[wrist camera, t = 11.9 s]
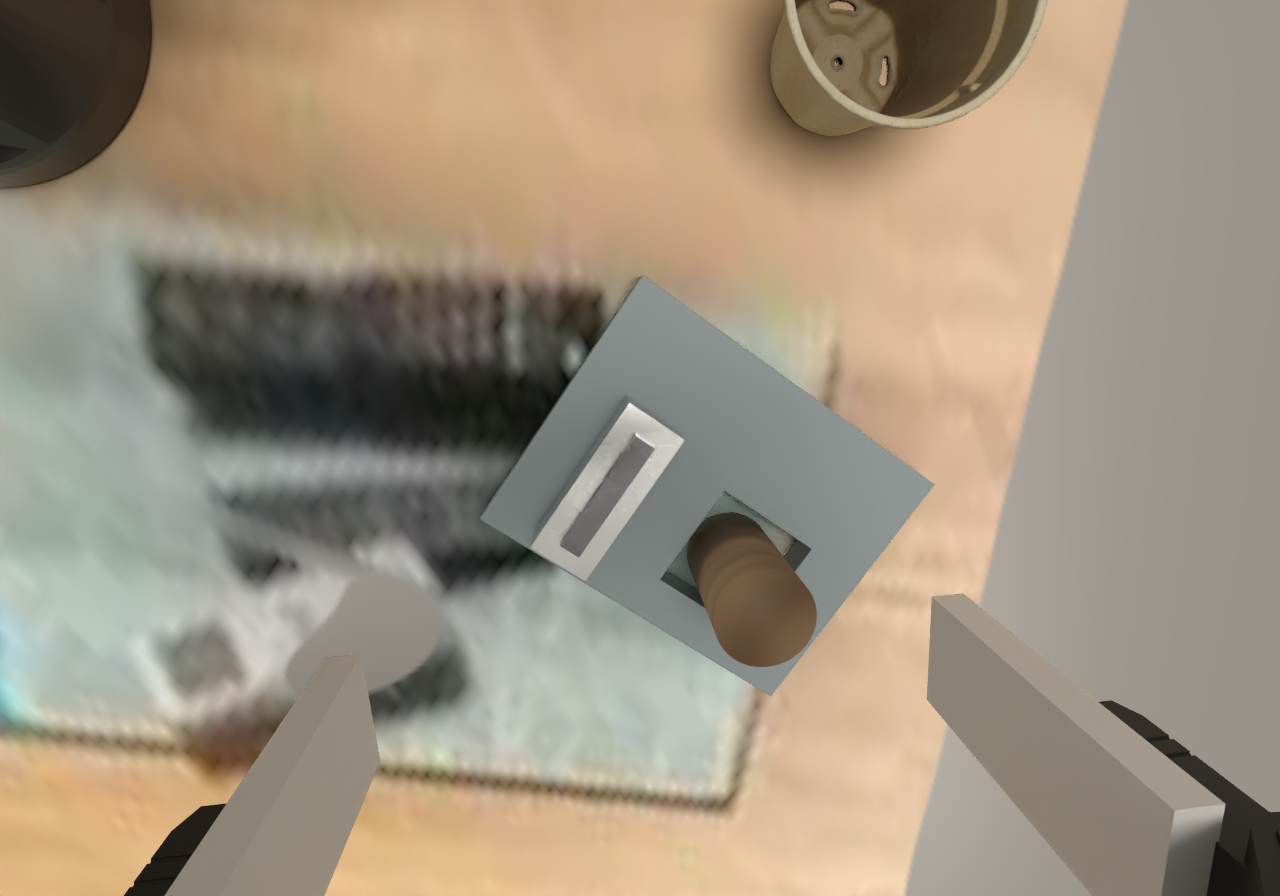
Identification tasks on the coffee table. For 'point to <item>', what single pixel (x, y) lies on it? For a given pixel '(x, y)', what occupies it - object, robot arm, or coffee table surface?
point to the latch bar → (606, 488)
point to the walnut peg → (750, 591)
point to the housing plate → (713, 470)
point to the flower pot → (897, 60)
